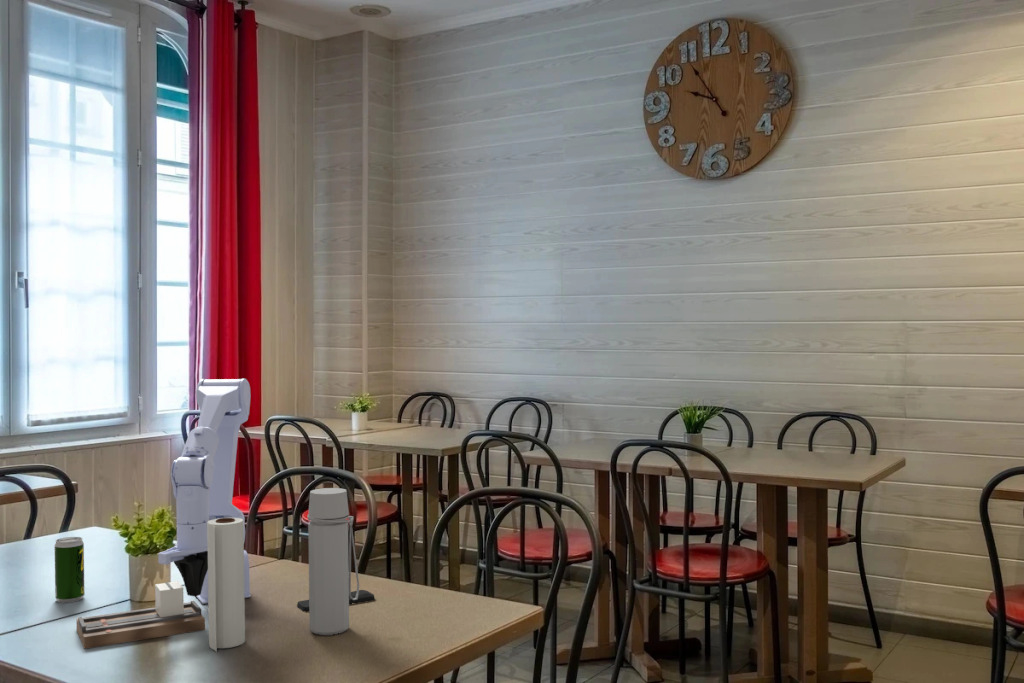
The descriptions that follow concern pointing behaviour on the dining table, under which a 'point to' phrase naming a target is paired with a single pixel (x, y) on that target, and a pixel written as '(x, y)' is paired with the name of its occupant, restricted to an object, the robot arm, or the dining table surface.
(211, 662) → the dining table surface
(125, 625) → the console
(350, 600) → the remote control
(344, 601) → the water bottle
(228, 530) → the paper towel roll
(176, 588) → the fader knob
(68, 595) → the beer can
